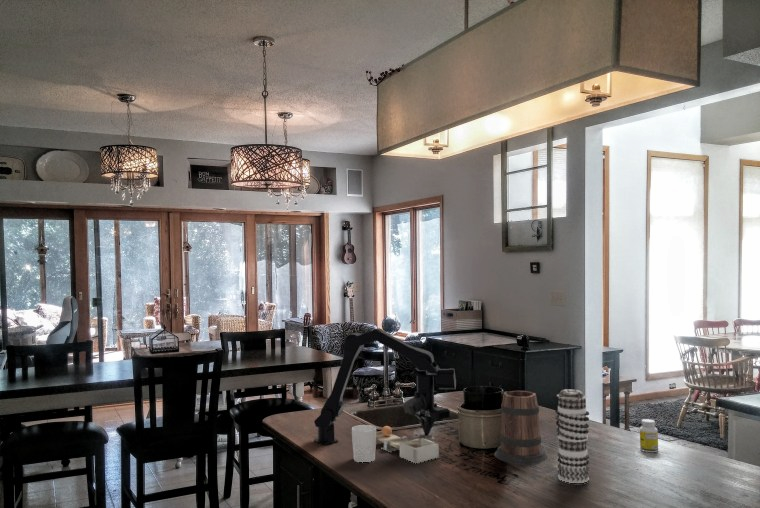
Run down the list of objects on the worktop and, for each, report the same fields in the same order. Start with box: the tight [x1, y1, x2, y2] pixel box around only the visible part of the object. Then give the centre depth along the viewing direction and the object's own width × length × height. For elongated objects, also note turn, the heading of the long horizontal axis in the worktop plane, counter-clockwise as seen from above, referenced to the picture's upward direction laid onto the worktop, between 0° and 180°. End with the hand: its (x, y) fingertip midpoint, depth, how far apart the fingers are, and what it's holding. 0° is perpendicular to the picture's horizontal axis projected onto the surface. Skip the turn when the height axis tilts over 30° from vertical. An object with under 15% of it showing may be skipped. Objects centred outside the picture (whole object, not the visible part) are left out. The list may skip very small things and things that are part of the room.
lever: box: [376, 430, 436, 449], centre depth 201 cm, size 16×15×2 cm
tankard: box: [493, 390, 549, 465], centre depth 192 cm, size 24×17×20 cm
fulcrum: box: [380, 435, 408, 453], centre depth 198 cm, size 5×9×3 cm, turn 125°
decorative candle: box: [554, 388, 590, 484], centre depth 168 cm, size 9×9×25 cm
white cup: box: [351, 424, 377, 464], centre depth 187 cm, size 8×8×10 cm
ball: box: [381, 425, 393, 436], centre depth 202 cm, size 4×4×4 cm
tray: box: [399, 438, 440, 465], centre depth 188 cm, size 8×10×4 cm
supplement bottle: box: [639, 418, 659, 453], centre depth 192 cm, size 5×5×10 cm
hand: (426, 435), depth 199 cm, fingers closed, pressing on lever
